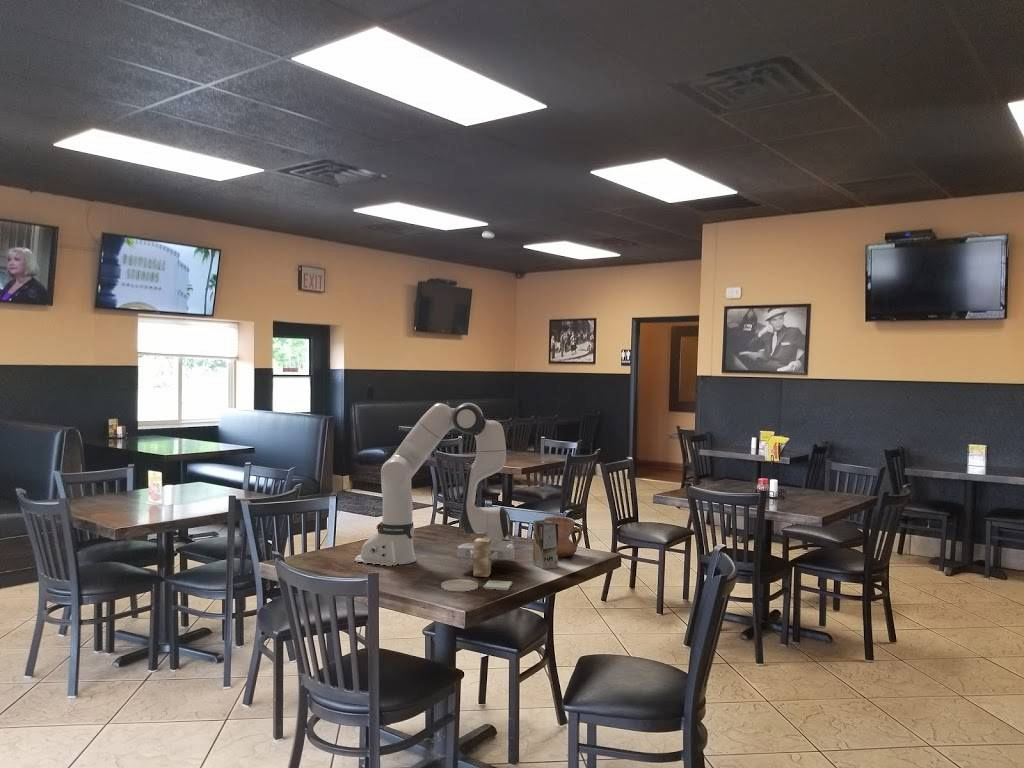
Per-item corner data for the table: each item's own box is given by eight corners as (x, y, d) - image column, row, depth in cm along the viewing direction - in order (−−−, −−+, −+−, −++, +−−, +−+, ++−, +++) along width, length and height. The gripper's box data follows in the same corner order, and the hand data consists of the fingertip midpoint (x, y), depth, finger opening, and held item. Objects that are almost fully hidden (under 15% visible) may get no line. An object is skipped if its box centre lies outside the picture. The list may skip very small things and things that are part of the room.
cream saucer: (436, 590, 244) (436, 587, 244) (446, 581, 255) (446, 578, 255) (473, 593, 241) (473, 590, 241) (481, 583, 253) (481, 580, 253)
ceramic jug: (539, 560, 288) (541, 522, 288) (532, 551, 302) (534, 515, 302) (586, 560, 291) (587, 523, 291) (577, 551, 305) (578, 516, 305)
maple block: (473, 576, 261) (473, 541, 261) (476, 572, 266) (477, 538, 266) (487, 576, 260) (488, 541, 260) (490, 573, 265) (491, 539, 265)
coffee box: (558, 567, 276) (559, 523, 276) (542, 569, 274) (543, 524, 274) (547, 562, 285) (548, 519, 285) (531, 563, 282) (532, 520, 282)
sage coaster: (483, 588, 247) (483, 586, 247) (488, 582, 255) (488, 580, 255) (507, 590, 245) (507, 587, 245) (512, 584, 253) (512, 581, 253)
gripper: (462, 537, 277) (452, 545, 264) (517, 541, 274) (510, 549, 260) (462, 555, 277) (452, 563, 264) (517, 558, 274) (510, 567, 260)
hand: (481, 556), depth 262 cm, fingers closed on maple block, 5 cm apart
